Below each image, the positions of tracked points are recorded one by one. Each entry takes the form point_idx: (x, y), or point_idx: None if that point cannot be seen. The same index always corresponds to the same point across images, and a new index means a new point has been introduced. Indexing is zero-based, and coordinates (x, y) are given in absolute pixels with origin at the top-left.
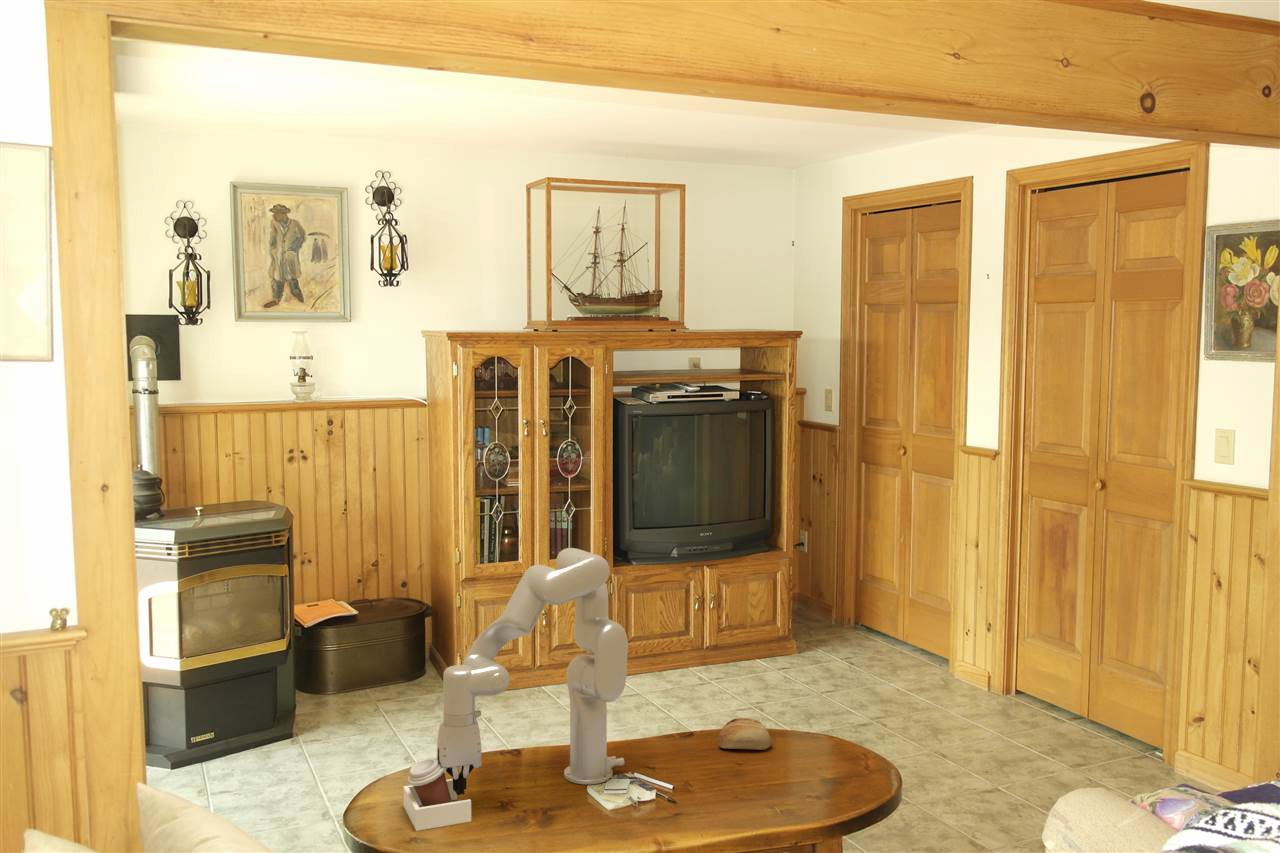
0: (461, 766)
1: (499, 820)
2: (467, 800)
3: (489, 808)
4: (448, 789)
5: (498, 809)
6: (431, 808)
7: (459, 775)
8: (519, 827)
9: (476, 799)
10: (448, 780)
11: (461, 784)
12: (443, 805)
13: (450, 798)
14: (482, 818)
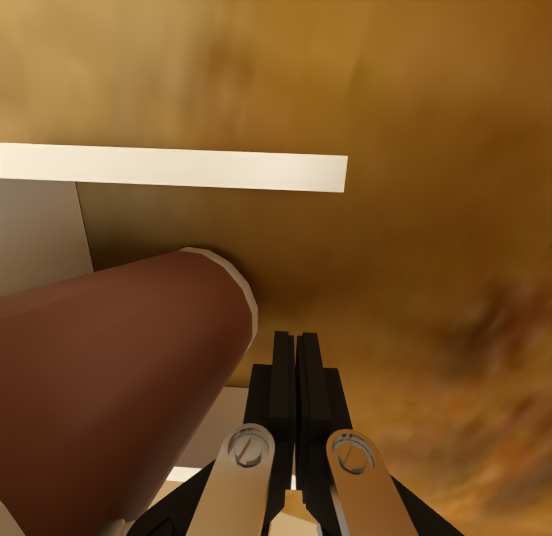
0: (346, 534)
1: (396, 431)
2: (292, 483)
3: (414, 336)
4: (215, 394)
5: (441, 358)
6: None
7: (307, 433)
8: (427, 489)
9: (410, 224)
10: (273, 177)
11: (295, 452)
12: (169, 478)
13: (237, 363)
14: (349, 398)
